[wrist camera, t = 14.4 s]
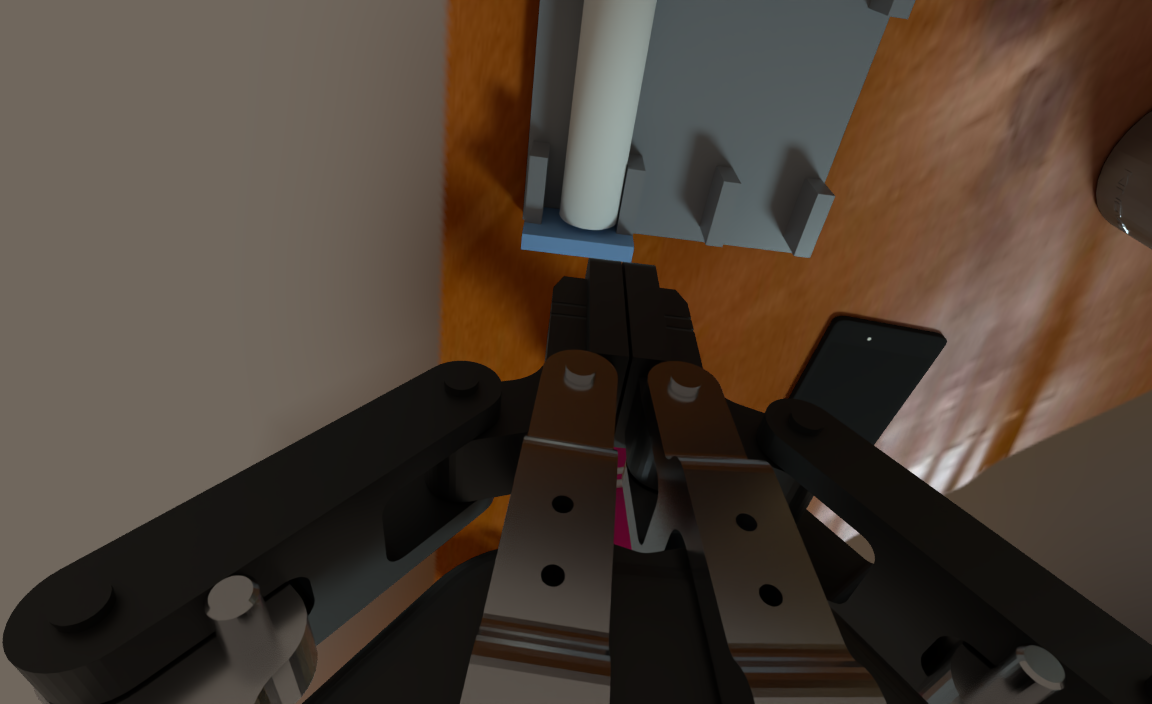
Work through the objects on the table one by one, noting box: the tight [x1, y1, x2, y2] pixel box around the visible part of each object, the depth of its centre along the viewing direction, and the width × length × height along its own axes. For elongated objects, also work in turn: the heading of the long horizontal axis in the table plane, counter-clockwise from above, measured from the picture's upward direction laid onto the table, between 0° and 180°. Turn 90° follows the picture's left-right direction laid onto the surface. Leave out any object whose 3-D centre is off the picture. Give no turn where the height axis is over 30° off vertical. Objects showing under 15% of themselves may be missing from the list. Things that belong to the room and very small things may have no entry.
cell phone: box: [789, 316, 947, 445], centre depth 49 cm, size 9×18×1 cm, turn 169°
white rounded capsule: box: [559, 0, 657, 230], centre depth 31 cm, size 16×4×4 cm, turn 173°
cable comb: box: [521, 0, 915, 263], centre depth 32 cm, size 19×18×5 cm
